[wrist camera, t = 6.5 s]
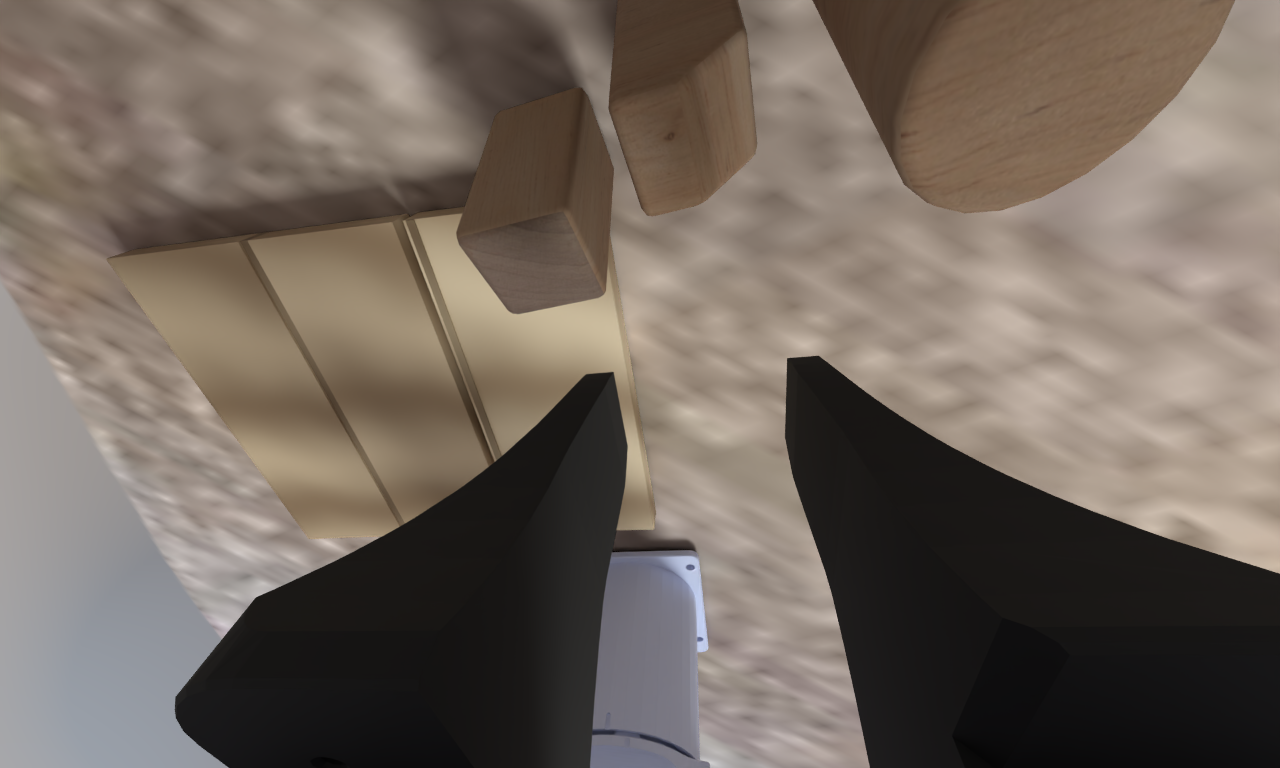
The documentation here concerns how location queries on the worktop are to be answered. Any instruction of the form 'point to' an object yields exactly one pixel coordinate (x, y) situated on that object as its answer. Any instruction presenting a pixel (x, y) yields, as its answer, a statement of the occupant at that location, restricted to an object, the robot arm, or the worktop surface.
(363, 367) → the floor panel
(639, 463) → the oak plank
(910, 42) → the wooden block set
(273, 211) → the worktop surface
